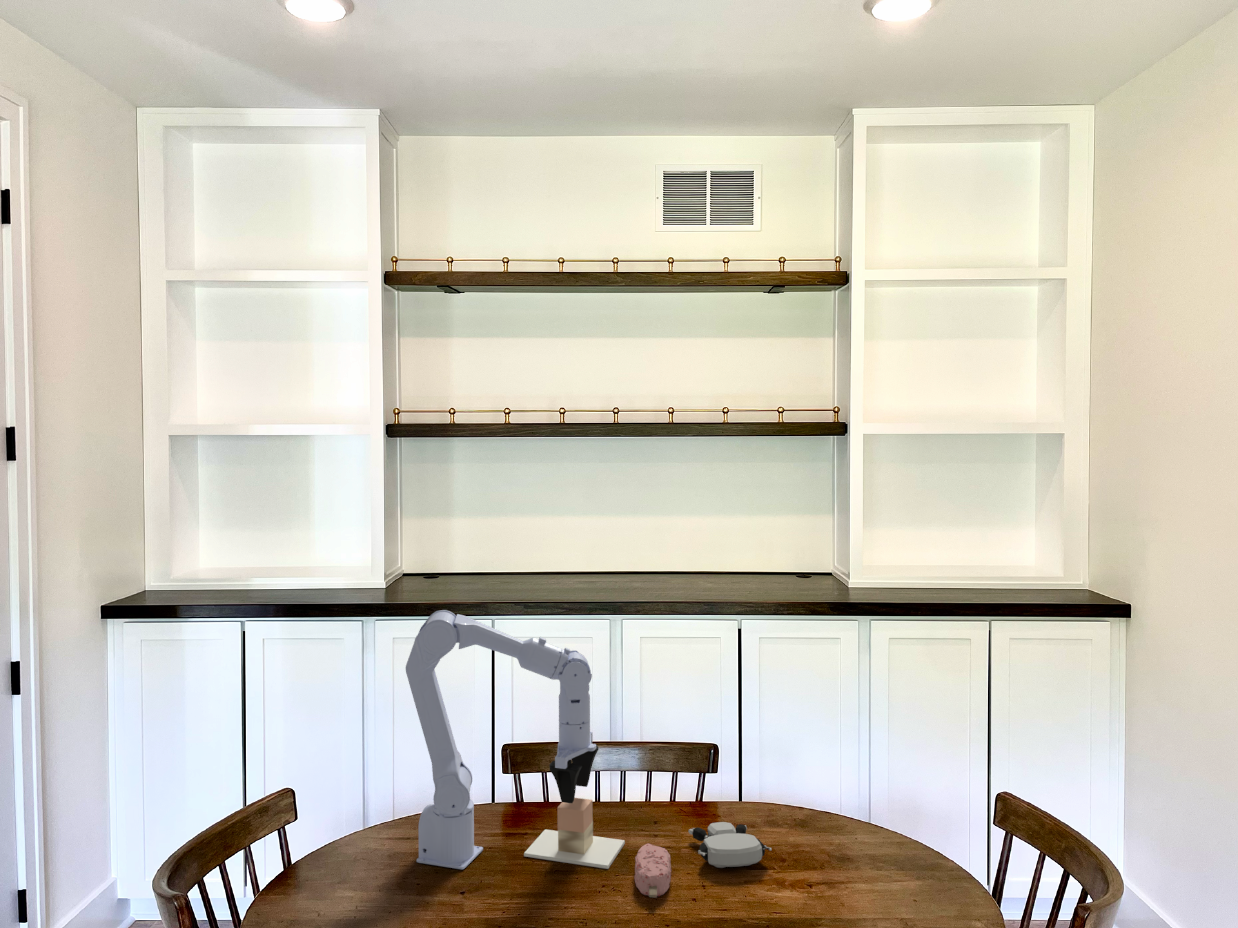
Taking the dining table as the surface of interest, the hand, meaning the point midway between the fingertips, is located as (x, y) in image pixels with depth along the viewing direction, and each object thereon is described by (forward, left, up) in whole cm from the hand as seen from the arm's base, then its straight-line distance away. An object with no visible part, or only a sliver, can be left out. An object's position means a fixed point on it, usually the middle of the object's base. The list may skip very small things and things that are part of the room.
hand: (574, 793), depth 156 cm
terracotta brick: (0, 0, -6) cm, 6 cm away
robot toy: (+27, +6, -11) cm, 30 cm away
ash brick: (0, 0, -10) cm, 10 cm away
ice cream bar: (+17, -8, -11) cm, 21 cm away
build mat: (0, 0, -10) cm, 10 cm away
